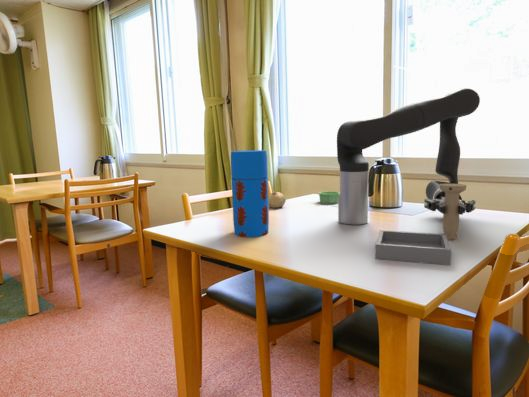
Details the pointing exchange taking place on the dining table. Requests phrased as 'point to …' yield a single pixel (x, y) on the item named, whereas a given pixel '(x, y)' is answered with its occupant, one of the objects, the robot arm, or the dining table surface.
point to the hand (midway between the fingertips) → (452, 210)
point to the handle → (451, 209)
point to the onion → (276, 200)
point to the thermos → (250, 193)
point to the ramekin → (329, 197)
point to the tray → (413, 247)
